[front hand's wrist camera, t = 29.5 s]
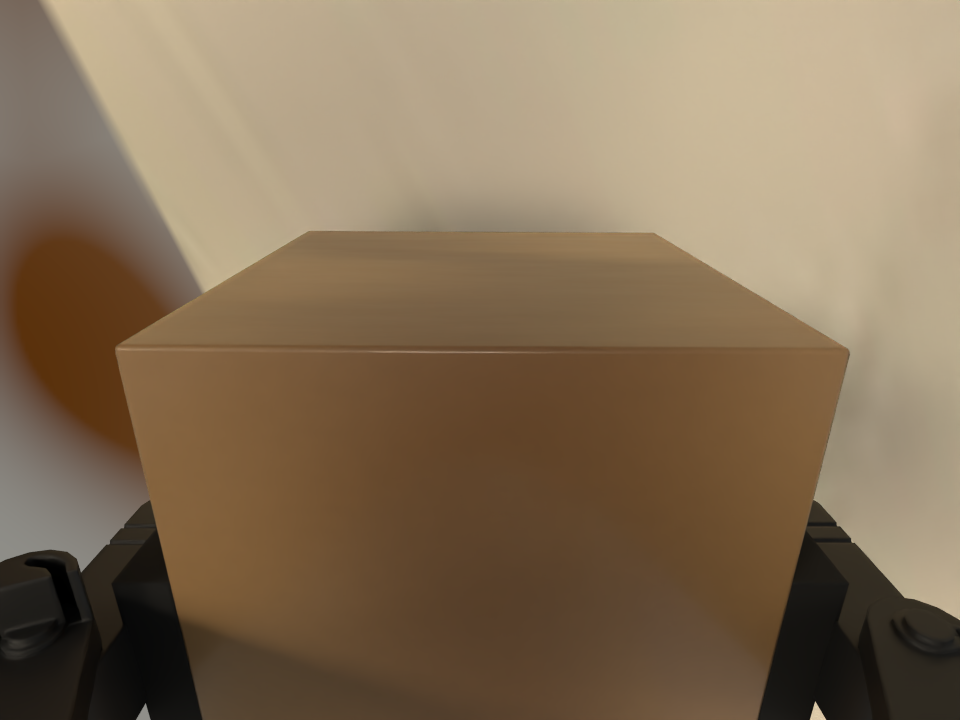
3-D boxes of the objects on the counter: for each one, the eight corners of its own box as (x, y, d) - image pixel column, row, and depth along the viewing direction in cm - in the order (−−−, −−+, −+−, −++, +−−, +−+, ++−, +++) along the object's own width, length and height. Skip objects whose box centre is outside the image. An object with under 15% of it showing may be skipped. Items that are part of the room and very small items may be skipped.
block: (338, 547, 17) (233, 861, 10) (307, 230, 14) (110, 345, 6) (619, 549, 17) (724, 862, 10) (655, 232, 14) (854, 349, 6)
